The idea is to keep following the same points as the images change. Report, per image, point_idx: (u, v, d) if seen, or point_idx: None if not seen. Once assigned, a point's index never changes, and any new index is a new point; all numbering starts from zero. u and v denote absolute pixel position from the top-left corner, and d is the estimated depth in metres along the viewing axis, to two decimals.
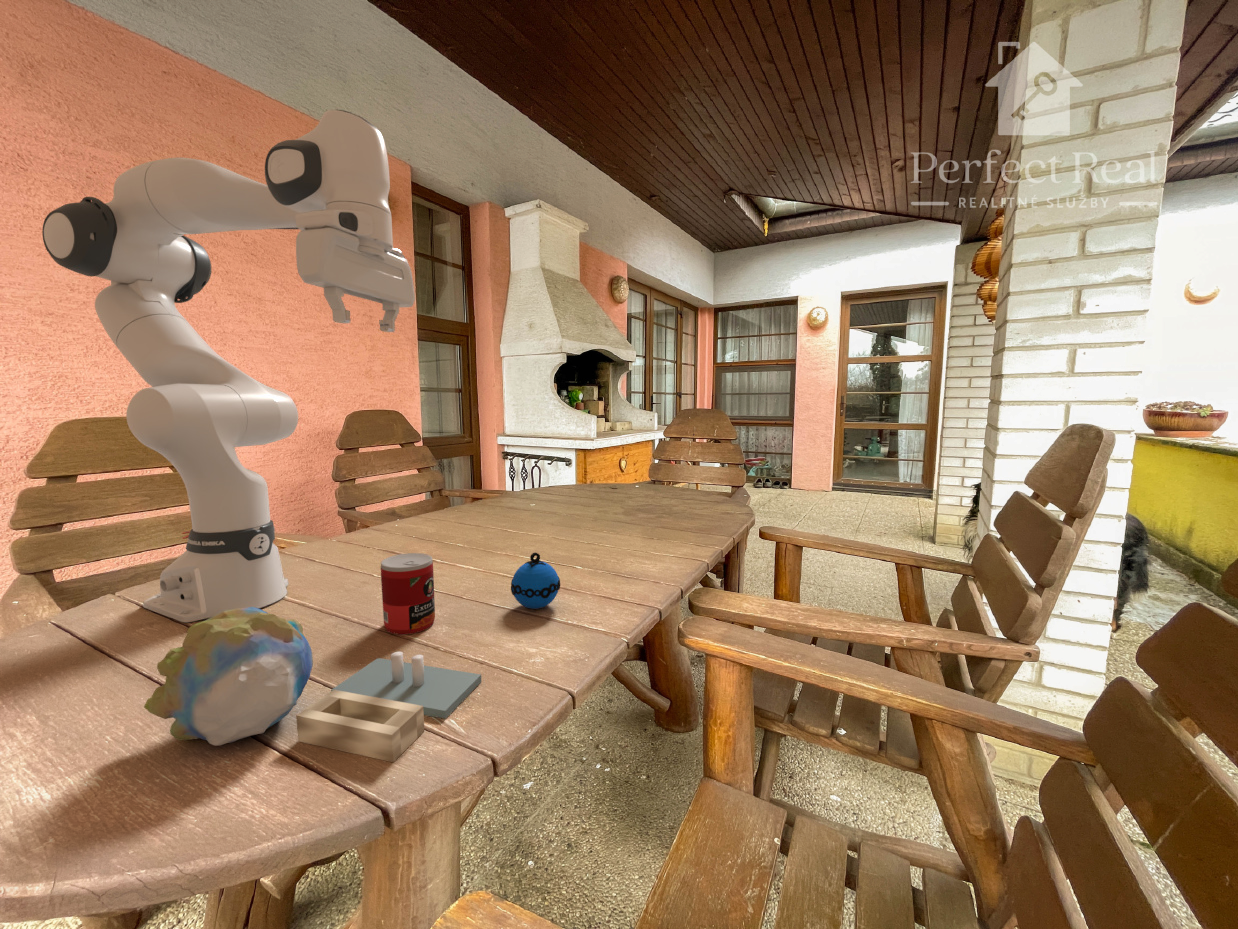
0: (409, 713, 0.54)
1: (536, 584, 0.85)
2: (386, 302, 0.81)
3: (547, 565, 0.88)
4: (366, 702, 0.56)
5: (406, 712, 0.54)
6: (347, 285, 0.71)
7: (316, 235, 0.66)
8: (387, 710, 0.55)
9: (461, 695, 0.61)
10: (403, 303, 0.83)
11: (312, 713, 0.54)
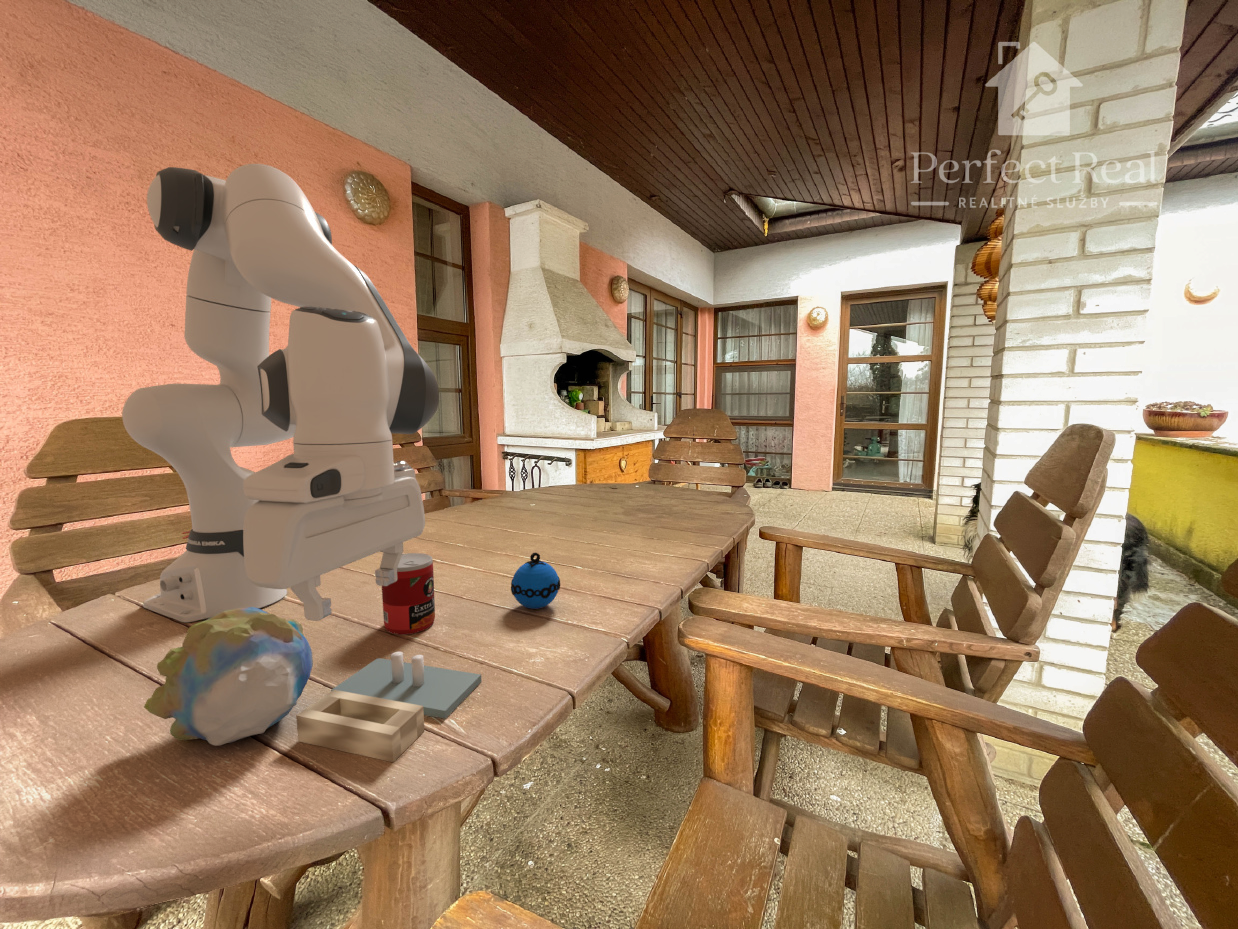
0: (409, 713, 0.54)
1: (536, 584, 0.85)
2: None
3: (547, 565, 0.88)
4: (366, 702, 0.56)
5: (406, 712, 0.54)
6: (325, 570, 0.47)
7: (274, 523, 0.42)
8: (387, 710, 0.55)
9: (461, 695, 0.61)
10: (409, 539, 0.58)
11: (312, 713, 0.54)
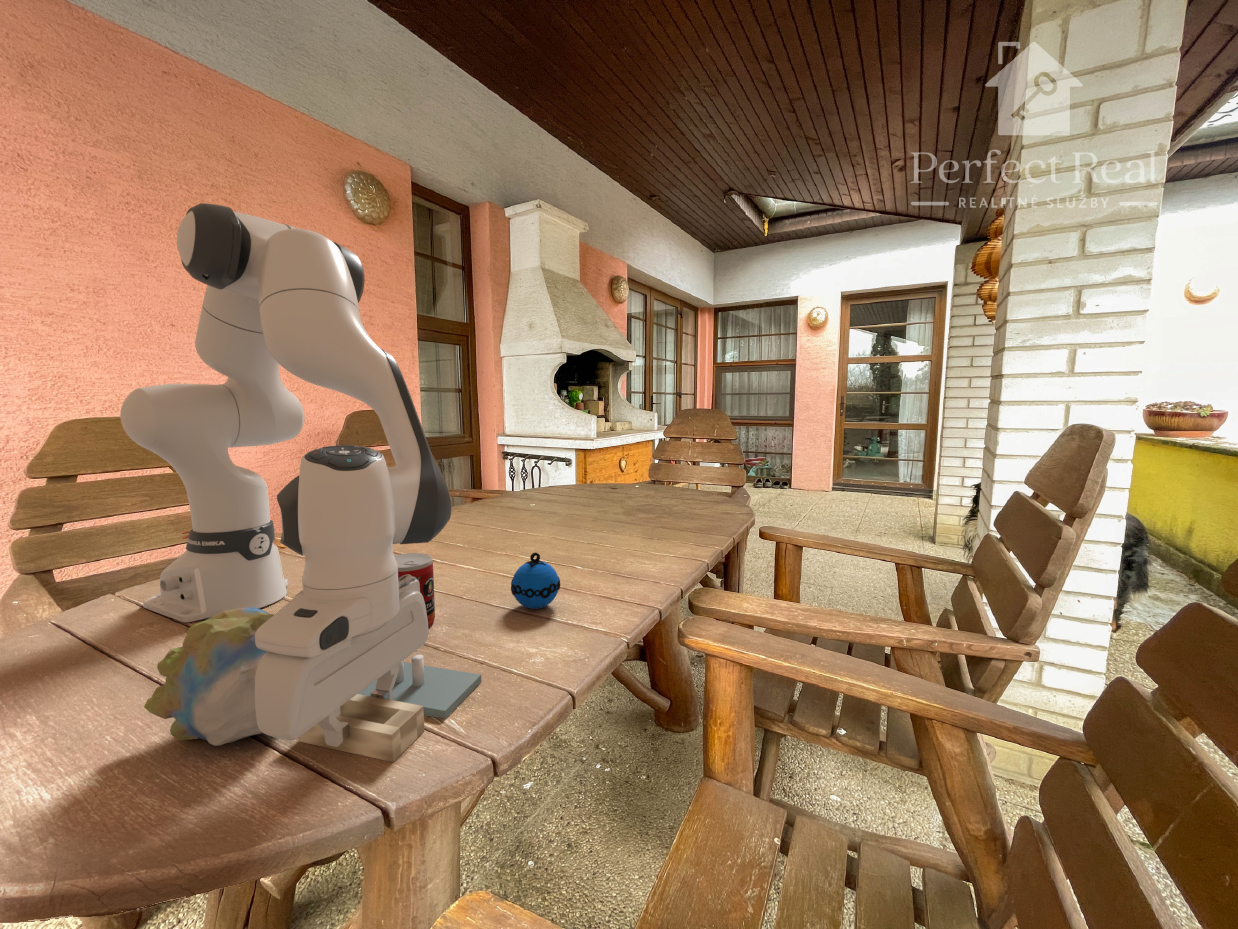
0: (409, 713, 0.54)
1: (536, 584, 0.85)
2: None
3: (547, 565, 0.88)
4: (366, 702, 0.56)
5: (406, 712, 0.54)
6: (333, 709, 0.48)
7: (285, 679, 0.44)
8: (387, 710, 0.55)
9: (461, 695, 0.61)
10: (413, 652, 0.60)
11: None
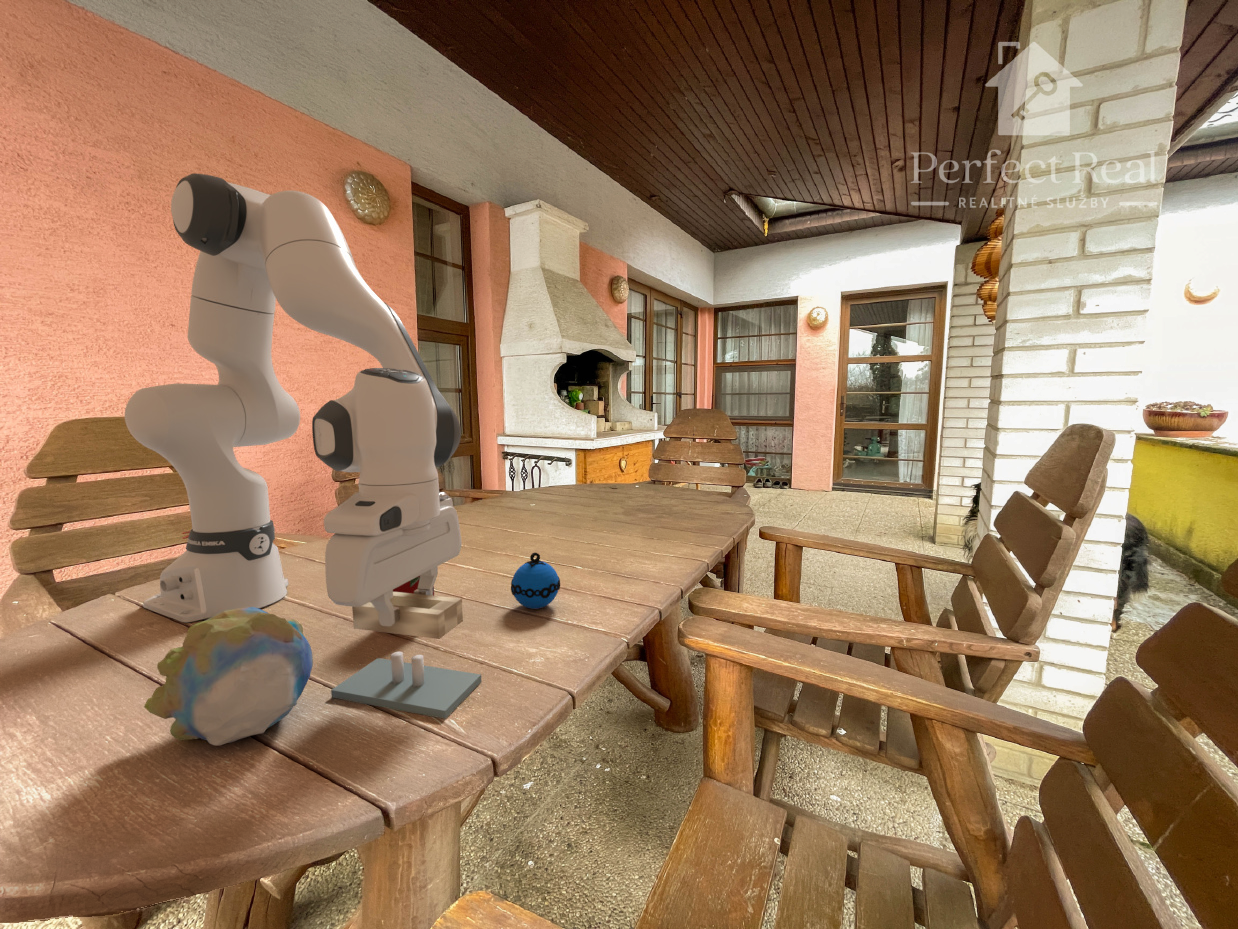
0: (450, 602, 0.62)
1: (536, 584, 0.85)
2: None
3: (547, 565, 0.88)
4: (411, 597, 0.63)
5: (447, 602, 0.62)
6: (388, 589, 0.56)
7: (352, 553, 0.52)
8: (430, 602, 0.63)
9: (461, 695, 0.61)
10: (449, 559, 0.68)
11: None
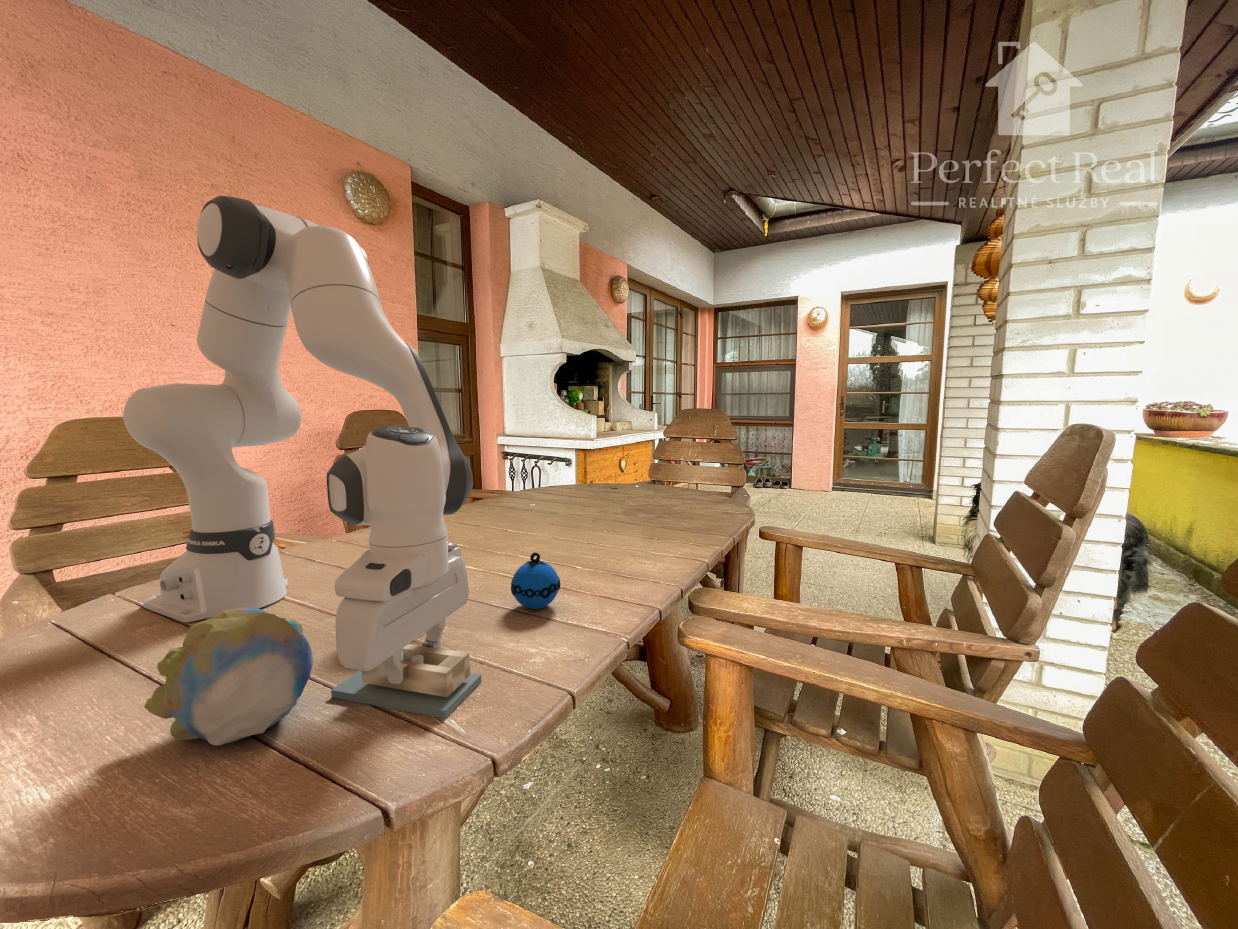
0: (458, 658, 0.62)
1: (536, 584, 0.85)
2: None
3: (547, 565, 0.88)
4: (419, 650, 0.64)
5: (455, 657, 0.62)
6: (397, 650, 0.57)
7: (362, 619, 0.52)
8: (438, 656, 0.63)
9: (461, 695, 0.61)
10: (456, 609, 0.68)
11: None
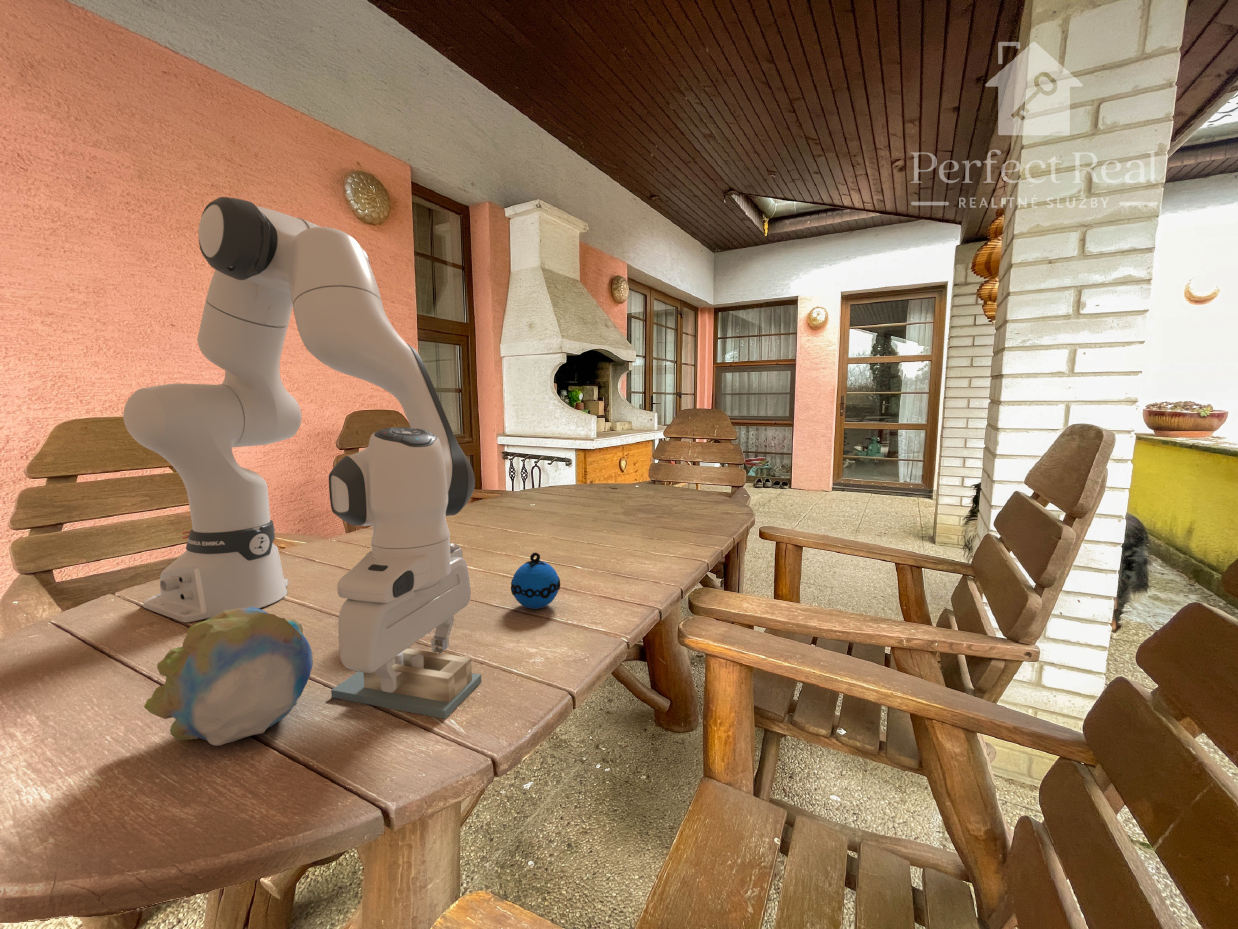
0: (460, 663, 0.62)
1: (536, 584, 0.85)
2: None
3: (547, 565, 0.88)
4: None
5: (457, 662, 0.62)
6: (400, 651, 0.57)
7: (365, 621, 0.52)
8: (440, 661, 0.63)
9: (461, 695, 0.61)
10: None
11: None
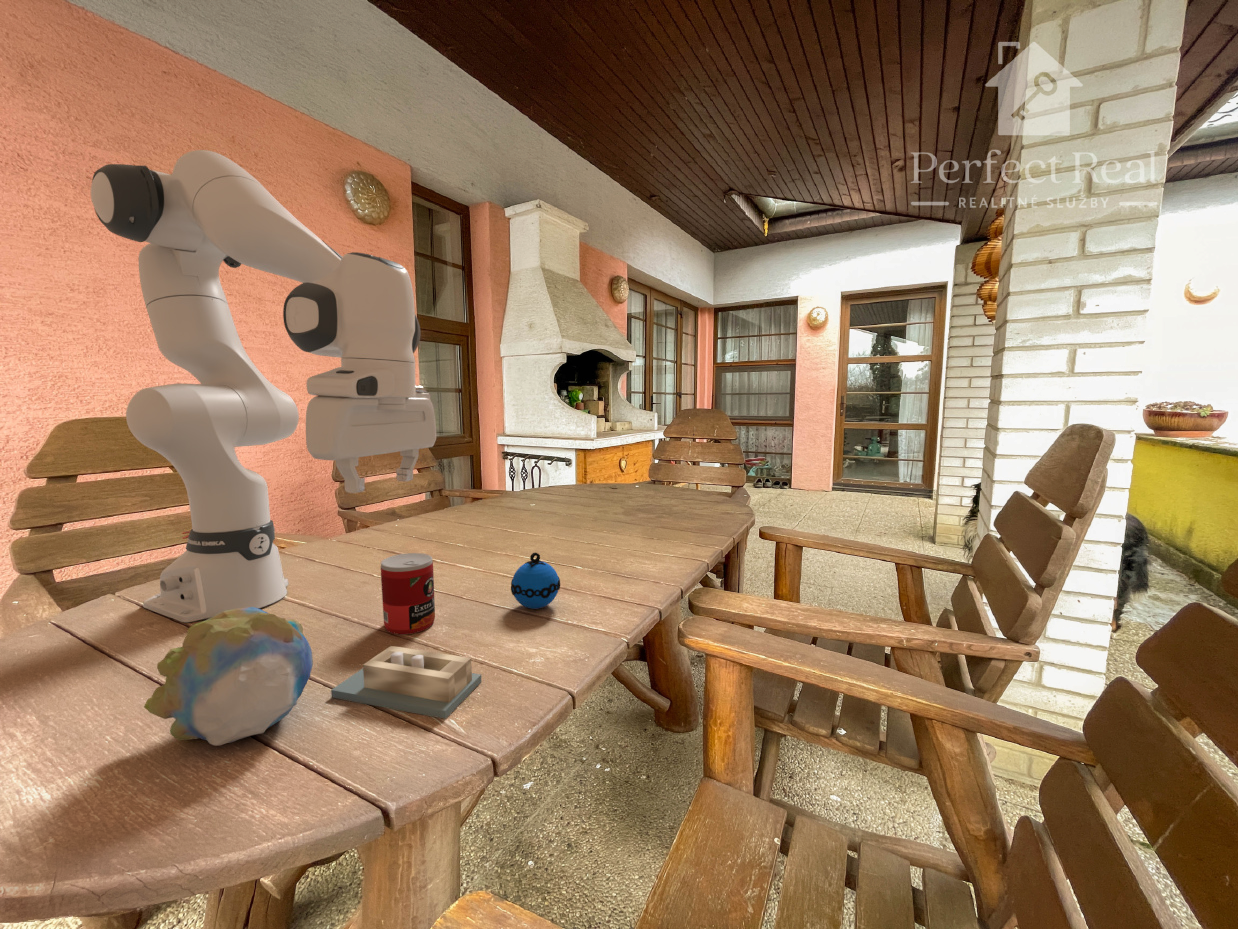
0: (460, 663, 0.62)
1: (536, 584, 0.85)
2: None
3: (547, 565, 0.88)
4: None
5: (457, 662, 0.62)
6: (363, 454, 0.62)
7: (330, 410, 0.57)
8: (440, 661, 0.63)
9: (461, 695, 0.61)
10: (423, 447, 0.74)
11: (376, 663, 0.62)
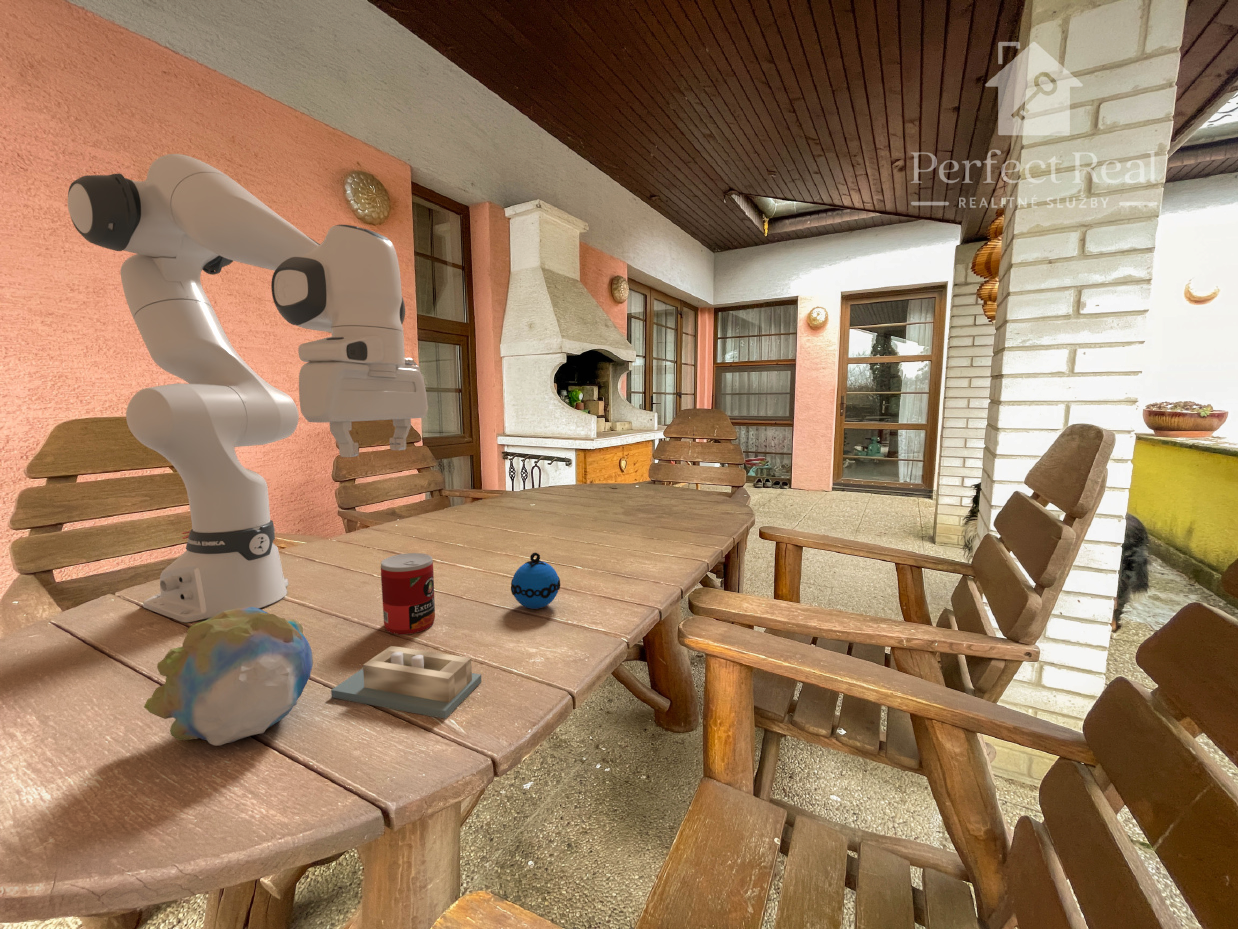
0: (460, 663, 0.62)
1: (536, 584, 0.85)
2: None
3: (547, 565, 0.88)
4: None
5: (457, 662, 0.62)
6: (355, 418, 0.64)
7: (322, 373, 0.59)
8: (440, 661, 0.63)
9: (461, 695, 0.61)
10: (415, 417, 0.76)
11: (376, 663, 0.62)
